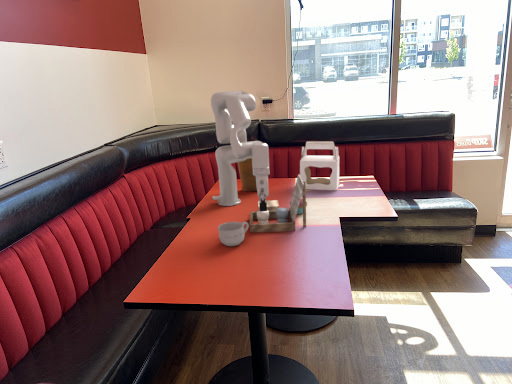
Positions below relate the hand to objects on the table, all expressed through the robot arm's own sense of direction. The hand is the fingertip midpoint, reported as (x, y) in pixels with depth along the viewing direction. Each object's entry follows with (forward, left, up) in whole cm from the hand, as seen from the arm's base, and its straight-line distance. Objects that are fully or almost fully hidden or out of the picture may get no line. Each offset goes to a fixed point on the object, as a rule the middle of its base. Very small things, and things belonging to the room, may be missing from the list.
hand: (263, 207), depth 176 cm
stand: (+3, +17, -8) cm, 19 cm away
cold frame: (+6, +1, -8) cm, 10 cm away
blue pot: (+9, +2, -8) cm, 12 cm away
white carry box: (+36, +61, -9) cm, 71 cm away
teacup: (-12, -18, -9) cm, 24 cm away
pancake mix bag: (-4, +60, -9) cm, 60 cm away
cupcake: (+18, +16, -9) cm, 25 cm away
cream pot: (0, +1, -8) cm, 8 cm away
